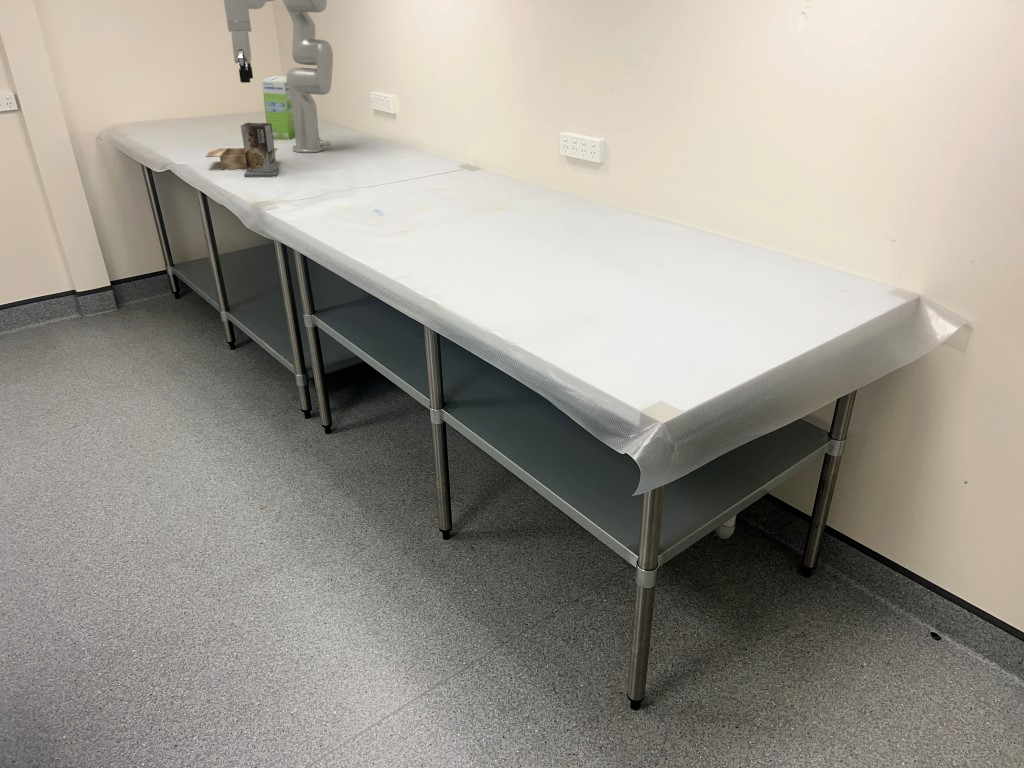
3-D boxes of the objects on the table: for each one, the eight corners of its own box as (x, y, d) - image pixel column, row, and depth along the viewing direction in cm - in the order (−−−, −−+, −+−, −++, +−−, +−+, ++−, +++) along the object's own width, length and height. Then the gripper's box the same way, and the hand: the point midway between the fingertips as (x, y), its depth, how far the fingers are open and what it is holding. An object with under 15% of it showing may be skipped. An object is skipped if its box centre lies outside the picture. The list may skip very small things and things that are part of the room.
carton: (278, 161, 290) (277, 148, 287) (275, 169, 277) (273, 155, 275) (214, 161, 285) (211, 148, 283) (207, 170, 273) (205, 156, 271)
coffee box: (277, 168, 274) (272, 123, 266) (271, 172, 268) (265, 126, 260) (253, 167, 274) (247, 121, 267) (246, 171, 269) (240, 125, 261)
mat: (279, 169, 278) (279, 166, 277) (276, 176, 267) (276, 174, 267) (248, 169, 276) (248, 166, 275) (244, 177, 266) (244, 174, 265)
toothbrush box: (290, 139, 327) (284, 81, 316) (267, 139, 327) (260, 80, 316) (302, 132, 343) (296, 76, 331) (279, 131, 343) (273, 75, 331)
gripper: (230, 24, 260) (238, 77, 269) (224, 28, 246) (232, 84, 254) (253, 24, 262) (260, 76, 270) (248, 28, 247) (255, 84, 255)
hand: (247, 80), depth 262 cm, fingers open, 9 cm apart
